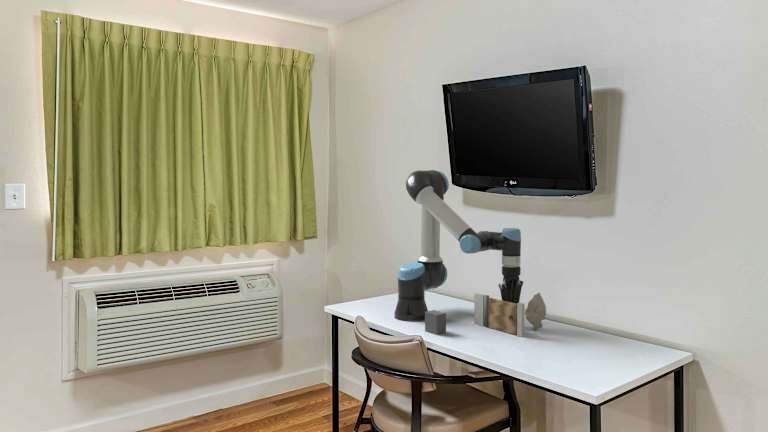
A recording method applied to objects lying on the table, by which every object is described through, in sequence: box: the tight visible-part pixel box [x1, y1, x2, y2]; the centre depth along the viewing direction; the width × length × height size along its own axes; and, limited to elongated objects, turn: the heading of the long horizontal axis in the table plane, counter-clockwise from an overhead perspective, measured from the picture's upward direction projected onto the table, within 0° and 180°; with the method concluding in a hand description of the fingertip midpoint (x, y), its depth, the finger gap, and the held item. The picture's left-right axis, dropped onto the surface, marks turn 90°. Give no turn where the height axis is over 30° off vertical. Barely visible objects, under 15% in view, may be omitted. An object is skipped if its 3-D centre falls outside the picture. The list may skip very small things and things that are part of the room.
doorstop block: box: [424, 309, 447, 336], centre depth 238 cm, size 7×5×8 cm
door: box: [487, 297, 517, 336], centre depth 237 cm, size 15×2×12 cm, turn 37°
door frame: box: [473, 292, 526, 338], centre depth 240 cm, size 26×2×13 cm, turn 37°
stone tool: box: [524, 292, 547, 331], centre depth 239 cm, size 11×4×15 cm, turn 119°
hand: (510, 322), depth 245 cm, fingers closed
